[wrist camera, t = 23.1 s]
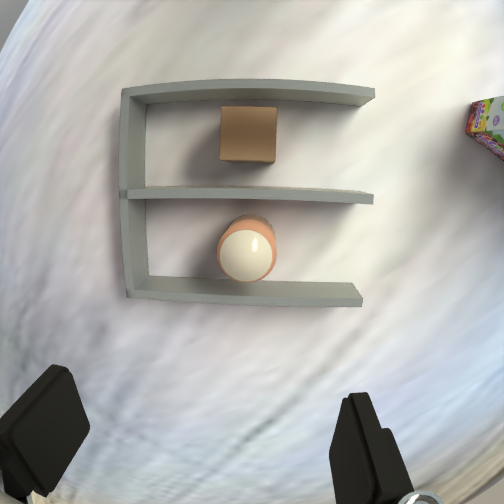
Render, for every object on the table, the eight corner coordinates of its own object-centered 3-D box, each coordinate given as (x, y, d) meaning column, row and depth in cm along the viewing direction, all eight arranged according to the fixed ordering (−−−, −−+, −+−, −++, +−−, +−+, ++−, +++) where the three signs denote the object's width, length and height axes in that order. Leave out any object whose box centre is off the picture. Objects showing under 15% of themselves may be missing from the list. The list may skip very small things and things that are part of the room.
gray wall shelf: (139, 97, 33) (121, 88, 28) (361, 98, 32) (374, 88, 27) (142, 282, 39) (126, 297, 34) (351, 290, 38) (361, 306, 33)
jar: (226, 213, 36) (215, 225, 29) (276, 215, 36) (277, 227, 28) (226, 261, 37) (215, 284, 30) (274, 263, 37) (275, 286, 30)
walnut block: (230, 118, 33) (221, 106, 27) (275, 119, 33) (276, 107, 26) (229, 161, 35) (219, 159, 28) (273, 163, 34) (275, 161, 28)
